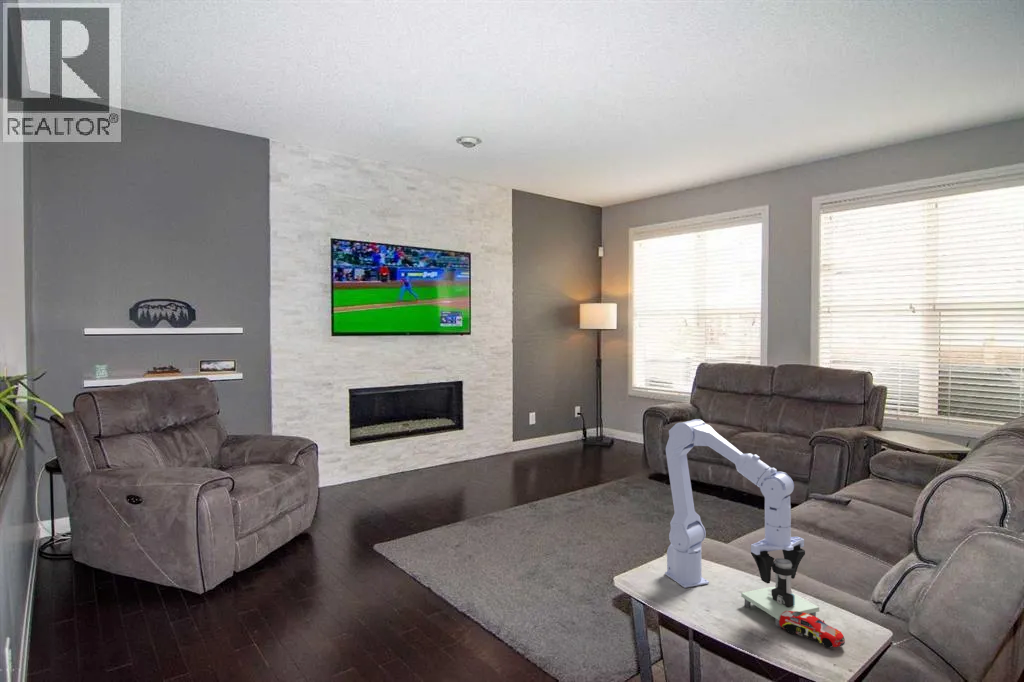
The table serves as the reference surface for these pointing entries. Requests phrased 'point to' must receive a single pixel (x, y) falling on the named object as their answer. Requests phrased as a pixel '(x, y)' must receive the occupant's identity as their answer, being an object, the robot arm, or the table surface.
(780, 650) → the table surface
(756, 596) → the stand
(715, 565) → the table surface
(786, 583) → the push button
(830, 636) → the race car
